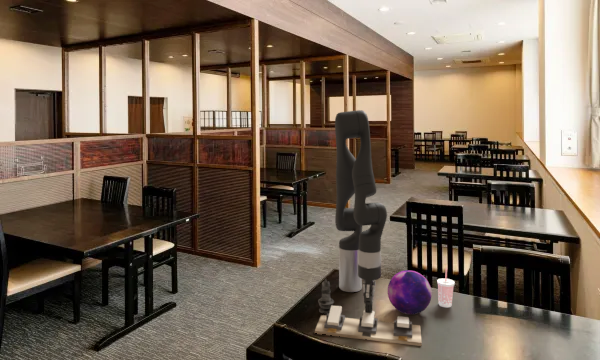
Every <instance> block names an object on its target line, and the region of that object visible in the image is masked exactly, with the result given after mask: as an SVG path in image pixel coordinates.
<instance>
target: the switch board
mask: <svg viewBox="0 0 600 360" xmlns="http://www.w3.org/2000/svg"><path fill="white" fill-rule="evenodd" d="M328 317H329V313H327V314H325V315H324V314H323V315H322V314H321V315H320V317H319V319H318V322H317V323H316V326H315V329H314V334H315V333H317V334H316V335H322V334H326V335H325V336H330V335H332V336H331V337H339V336H340V338H349V339H350V338H351V339H358V340H359V339H360V340H365V339H367V340H366V341H375V342H383V343H391V344H401V345H408V346H409V345H410V346H416V347H417V346H419V347H422V345H423V344H422V343H423V342H422V331H421V325H420V324H413V321H409V328H405V327H397V319H394V321H393V322H392V321H391V322H390V321H381V320H379V319H378V318H376V317H374V323H373V327H365V326H361V322H362V317H363V316H360V317H359V318H352V317H346V315H345V314H341V316H340V321H339V326H335V325H327V321H328Z"/></svg>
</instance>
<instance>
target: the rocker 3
mask: <svg viewBox="0 0 600 360" xmlns="http://www.w3.org/2000/svg"><path fill="white" fill-rule="evenodd" d="M396 320H397V327H405V328H409V322H410V318H409V317H408V316H400V315H398V316H397V318H396Z"/></svg>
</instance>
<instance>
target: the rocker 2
mask: <svg viewBox="0 0 600 360" xmlns="http://www.w3.org/2000/svg"><path fill="white" fill-rule="evenodd" d="M375 314H376V312H375V310H372V313H366V312H365V309H364V310H363V313H362V316H361V317H362V322H361V326H365V327H373V323H374V318H375Z"/></svg>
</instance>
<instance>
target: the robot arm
mask: <svg viewBox="0 0 600 360" xmlns="http://www.w3.org/2000/svg"><path fill="white" fill-rule="evenodd" d="M334 128H335V129H334V133H335V143H336V144H335V145H336V148H335V149H336V169H335V186H336V188H335V189H336V190H335V191H336V201H335V203H336V204H335V217H334V218H335V219H334V221H335V222H334V223H335V227H336V228H335V229H337V231H338V232H339V231H340V232H353V233H351V234H350V235H348V236H345V237H343V238H341V239H340V240H339V241H338V260H339V261H338V267H339V268H338V273H339V274H338V276H339V277H338V287H339V289H340V290H341V291H343V292H347V293H354V292H359V291H361V290H363V295H362V296H363V302H364V304H365V305H364V307H365V309H364V310H365V312H366V313H372V311H373V302H374V297H375V292H376V291H375V290H376V284H377V283H376V281H377V280H379V279H380V278H381V276H382V251H381V248H382V247H381V246H382V244H381V243H382V242H381V240H382V236H383V232H384V228H385V225H386V222H387V217H388V212H387V208H386V206H385V204H383V203H382V202H366V199H367V198H369V197H373V196H374V195H376V193H377V186H376V179H375V175H374V170H373V161H372V145H371V133H370V132H371V131H370V122H369V118H368V114H367V113H366V112H365V110H359V109H357V110H349V111H341V112H337V114H336V116H335V118H334ZM356 138H360V146H359V151H358V154H357V156H356V158H355V156H354V155H353V153H351V151H350V149H349V148H348V145H347V142H346V141H347V140H348V139H356ZM353 196H354V205H353V207H346V206H347V204H348V202H349V200H350V199H351V198H352V197H353ZM364 226H370V227H369V228H368V229H366V230H364V231H363V227H364Z"/></svg>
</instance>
